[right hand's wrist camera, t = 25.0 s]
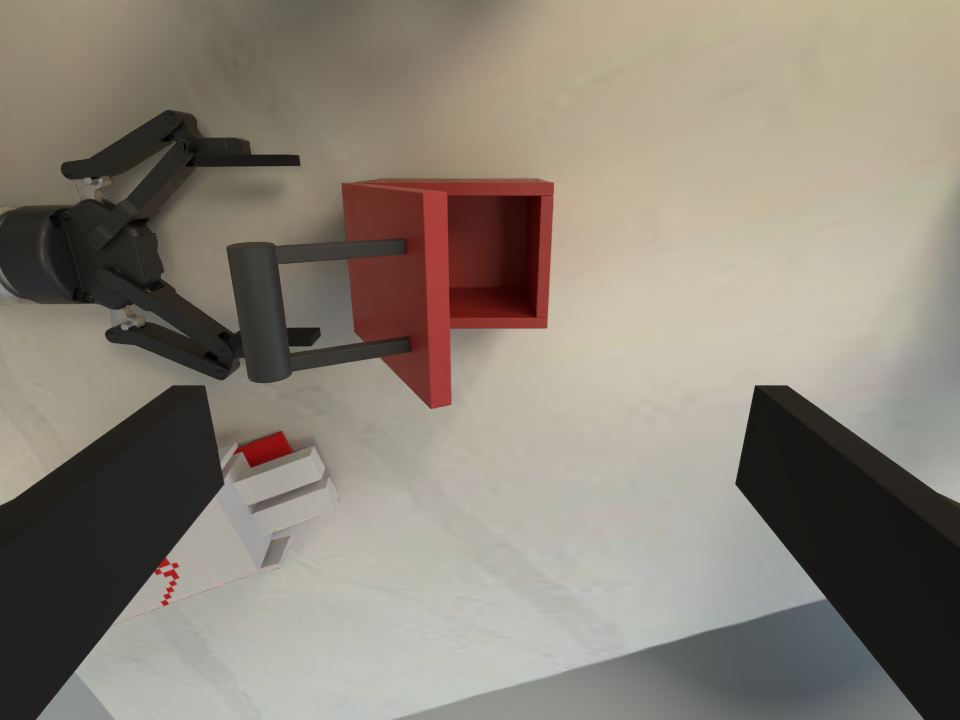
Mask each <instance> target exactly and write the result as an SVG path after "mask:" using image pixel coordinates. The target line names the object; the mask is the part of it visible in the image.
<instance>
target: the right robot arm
mask: <svg viewBox="0 0 960 720" xmlns="http://www.w3.org/2000/svg"><path fill="white" fill-rule="evenodd" d="M224 484H225V483H224V478H223V473H222V468H221V463H220V458H219V453H218V448H217V443H216V438H215V433H214V428H213V423H212V418H211V413H210V408H209V403H208V398H207V393H206V388H205V385H173V386H171V387H170V388H169V389H167V390H166V391H164V392H163V393H162V394H160V395H159V396H157V397H156V398H155V399H153V400H152V401H150V402H149V403H148V404H146V405H145V406H143V407H142V408H141V409H139V410H138V411H136V412H135V413H134V414H132V415H131V416H129V417H128V418H127V419H125V420H124V421H122V422H121V423H120V424H118V425H117V426H115V427H114V428H113V429H111V430H110V431H108V432H107V433H106V434H104V435H103V436H101V437H100V438H99V439H97V440H96V441H94V442H93V443H92V444H90V445H89V446H88V447H86V448H85V449H83V450H82V451H81V452H79V453H78V454H76V455H75V456H74V457H72V458H71V459H69V460H68V461H67V462H65V463H64V464H62V465H61V466H60V467H58V468H57V469H55V470H54V471H53V472H51V473H50V474H48V475H47V476H46V477H44V478H43V479H41V480H40V481H39V482H37V483H36V484H34V485H33V486H32V487H30V488H29V489H27V490H26V491H25V492H23V493H22V494H20V495H19V496H18V497H16V498H15V499H13V500H11V501H9V502H7V503H5V504H3V505H1V506H0V720H36V719H37V718H38V716H39V715H40V714H41V712H42V711H43V710H44V709H45V708H46V706H47V705H48V704H49V703H50V701H51V700H52V699H53V698H54V696H55V695H56V694H57V693H58V691H59V690H60V689H61V688H62V686H63V685H64V684H65V683H66V681H67V680H68V679H69V678H70V676H71V675H72V674H73V673H74V671H75V670H76V669H77V668H78V666H79V665H80V664H81V663H82V661H83V660H84V659H85V658H86V656H87V655H88V654H89V653H90V651H91V650H92V649H93V648H94V646H95V645H96V644H97V643H98V641H99V640H100V639H101V638H102V637H103V635H104V634H105V633H106V632H107V630H108V629H109V628H110V627H111V625H112V624H113V623H114V622H115V620H116V619H117V618H118V617H119V615H120V614H121V613H122V612H123V610H124V609H125V608H126V607H127V605H128V604H129V603H130V602H131V600H132V599H133V598H134V597H135V595H136V594H137V593H138V592H139V590H140V589H141V588H142V587H143V585H144V584H145V583H146V582H147V580H148V579H149V578H150V577H151V575H152V574H153V573H154V572H155V570H156V569H157V568H158V567H159V565H160V564H161V563H162V562H163V560H164V559H165V558H166V557H167V555H168V554H169V553H170V552H171V550H172V549H173V548H174V547H175V545H176V544H177V543H178V542H179V540H180V539H181V538H182V537H183V536H184V534H185V533H186V532H187V531H188V529H189V528H190V527H191V526H192V524H193V523H194V522H195V521H196V519H197V518H198V517H199V516H200V514H201V513H202V512H203V511H204V509H205V508H206V507H207V506H208V504H209V503H210V502H211V501H212V499H213V498H214V497H215V496H216V494H217V493H218V492H219V491H220V489H221V488H222V487H223V486H224ZM735 484H736V486H737V487H738V488H739V489H740V491H741V492H742V493H743V494H744V496H745V497H746V498H747V499H748V501H749V502H750V503H751V504H752V506H753V507H754V508H755V509H756V511H757V512H758V513H759V514H760V516H761V517H762V518H763V519H764V521H765V522H766V523H767V524H768V526H769V527H770V528H771V529H772V531H773V532H774V533H775V534H776V536H777V537H778V538H779V539H780V541H781V542H782V543H783V544H784V545H785V547H786V548H787V549H788V550H789V552H790V553H791V554H792V555H793V557H794V558H795V559H796V560H797V562H798V563H799V564H800V565H801V567H802V568H803V569H804V570H805V572H806V573H807V574H808V575H809V577H810V578H811V579H812V580H813V582H814V583H815V584H816V585H817V587H818V588H819V589H820V590H821V592H822V593H823V594H824V595H825V597H826V598H827V599H828V600H829V602H830V603H831V604H832V605H833V607H834V608H835V609H836V610H837V612H838V613H839V614H840V615H841V617H842V618H843V619H844V620H845V621H846V623H847V624H848V625H849V627H850V628H851V629H852V630H853V632H854V633H855V634H856V635H857V637H858V638H859V639H860V640H861V641H862V643H863V644H864V645H865V646H866V648H867V649H868V650H869V651H870V653H871V654H872V655H873V656H874V658H875V659H876V660H877V661H878V663H879V664H880V665H881V666H882V668H883V669H884V670H885V671H886V673H887V674H888V675H889V676H890V678H891V679H892V680H893V681H894V683H895V684H896V685H897V686H898V688H899V689H900V690H901V691H902V693H903V694H904V695H905V696H906V698H907V699H908V700H909V701H910V703H911V704H912V705H913V706H914V708H915V709H916V710H917V711H918V713H919V714H920V715H921V716H922V718H923V719H924V720H960V503H958V502H956V501H954V500H952V499H950V498H948V497H946V496H943V495H941V494H939V493H937V492H935V491H934V490H933V489H931V488H930V487H928V486H927V485H926V484H924V483H923V482H921V481H920V480H919V479H917V478H916V477H914V476H913V475H912V474H910V473H909V472H907V471H906V470H905V469H903V468H902V467H900V466H899V465H898V464H896V463H895V462H893V461H892V460H891V459H889V458H888V457H886V456H885V455H884V454H882V453H881V452H879V451H878V450H877V449H875V448H874V447H872V446H871V445H870V444H868V443H867V442H865V441H864V440H863V439H861V438H860V437H859V436H857V435H856V434H854V433H853V432H852V431H850V430H849V429H847V428H846V427H845V426H843V425H842V424H840V423H839V422H838V421H836V420H835V419H833V418H832V417H831V416H829V415H828V414H826V413H825V412H824V411H822V410H821V409H819V408H818V407H817V406H815V405H814V404H812V403H811V402H810V401H808V400H807V399H805V398H804V397H803V396H801V395H800V394H798V393H797V392H796V391H794V390H793V389H791V388H790V387H789V386H787V385H755V388H754V393H753V398H752V403H751V408H750V413H749V418H748V423H747V428H746V433H745V438H744V443H743V448H742V453H741V458H740V463H739V468H738V473H737V478H736V483H735Z"/></svg>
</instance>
